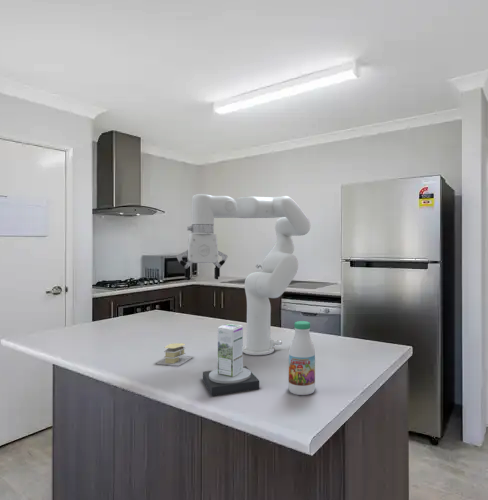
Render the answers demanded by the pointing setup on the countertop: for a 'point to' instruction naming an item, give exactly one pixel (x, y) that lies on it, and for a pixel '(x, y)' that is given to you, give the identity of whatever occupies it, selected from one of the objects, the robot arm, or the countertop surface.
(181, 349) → the stacked layers on plate
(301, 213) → the robot arm
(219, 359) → the syrup box
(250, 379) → the scale
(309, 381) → the milk bottle
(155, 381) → the countertop surface
